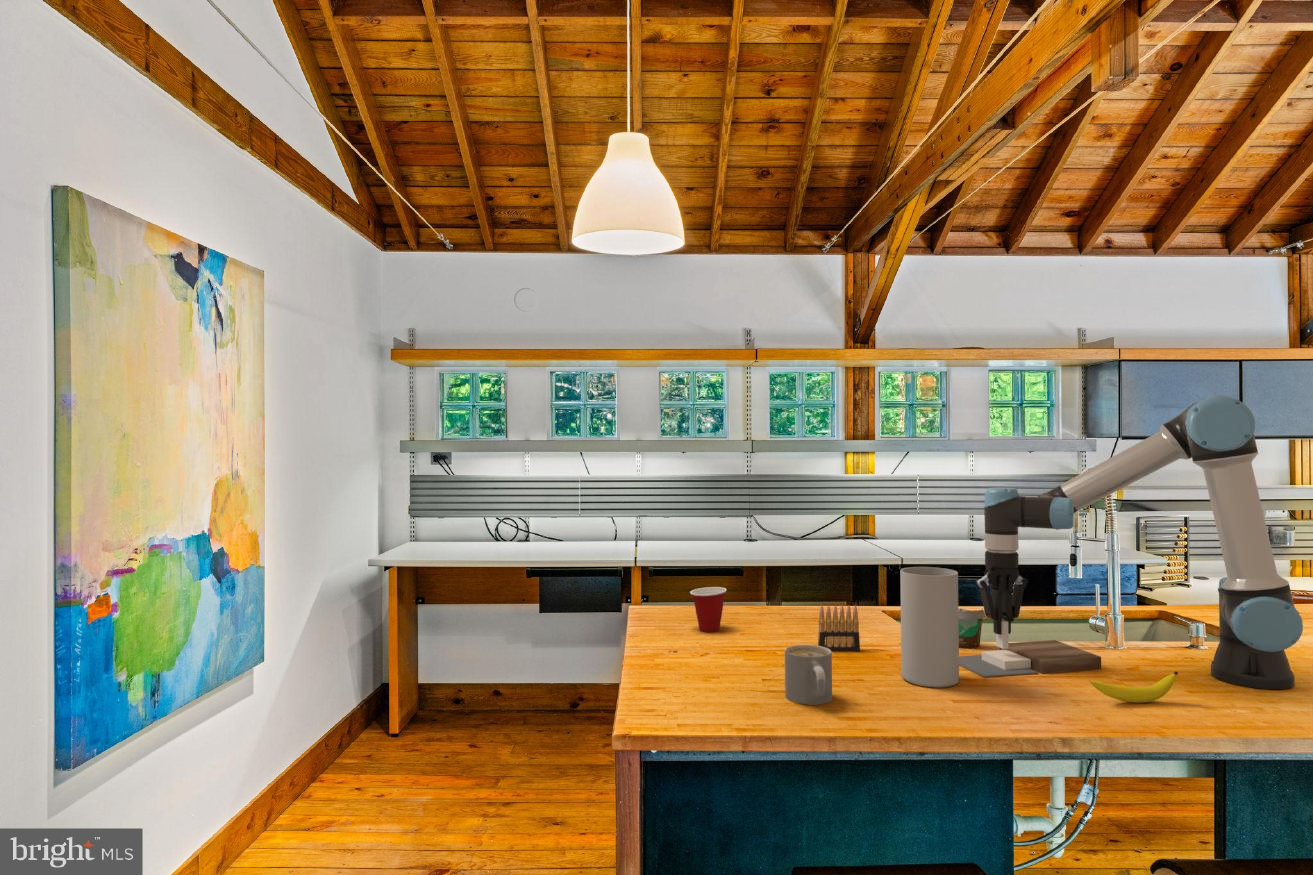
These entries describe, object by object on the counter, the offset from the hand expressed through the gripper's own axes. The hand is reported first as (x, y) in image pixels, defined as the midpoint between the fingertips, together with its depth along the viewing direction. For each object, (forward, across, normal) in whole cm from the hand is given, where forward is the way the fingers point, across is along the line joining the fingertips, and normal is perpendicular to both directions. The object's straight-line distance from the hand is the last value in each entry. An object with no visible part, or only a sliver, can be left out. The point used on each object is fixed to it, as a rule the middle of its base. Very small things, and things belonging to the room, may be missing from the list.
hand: (1002, 647), depth 189 cm
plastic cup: (+5, +62, -50) cm, 79 cm away
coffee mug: (+5, +55, +14) cm, 57 cm away
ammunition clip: (+5, +34, -21) cm, 40 cm away
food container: (+5, 0, -18) cm, 18 cm away
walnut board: (+4, -13, 0) cm, 13 cm away
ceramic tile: (+4, -1, 0) cm, 4 cm away
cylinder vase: (+5, +23, +7) cm, 25 cm away
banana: (+5, -10, +30) cm, 32 cm away
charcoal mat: (+4, +3, 0) cm, 6 cm away
